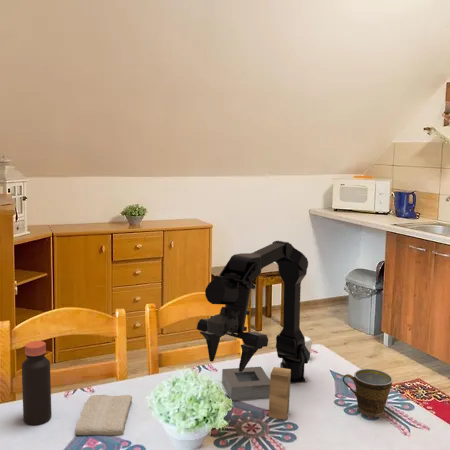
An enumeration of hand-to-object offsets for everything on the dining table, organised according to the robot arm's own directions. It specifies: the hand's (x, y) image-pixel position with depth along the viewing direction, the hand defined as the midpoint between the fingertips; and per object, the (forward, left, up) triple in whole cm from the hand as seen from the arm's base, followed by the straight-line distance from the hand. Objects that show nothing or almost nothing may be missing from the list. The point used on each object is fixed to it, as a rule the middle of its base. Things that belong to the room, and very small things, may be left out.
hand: (225, 366), depth 131 cm
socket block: (-10, -17, -15) cm, 25 cm away
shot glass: (-34, -36, -16) cm, 52 cm away
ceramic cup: (-39, 0, -16) cm, 42 cm away
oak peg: (-15, -2, -15) cm, 22 cm away
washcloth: (+30, -8, -16) cm, 35 cm away
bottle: (+47, -10, -16) cm, 50 cm away
